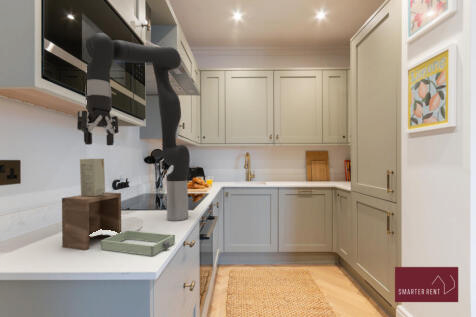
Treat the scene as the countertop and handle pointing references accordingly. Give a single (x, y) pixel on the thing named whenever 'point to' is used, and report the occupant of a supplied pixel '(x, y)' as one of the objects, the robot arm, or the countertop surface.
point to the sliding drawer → (116, 245)
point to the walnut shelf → (89, 218)
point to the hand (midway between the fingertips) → (99, 144)
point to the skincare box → (92, 177)
